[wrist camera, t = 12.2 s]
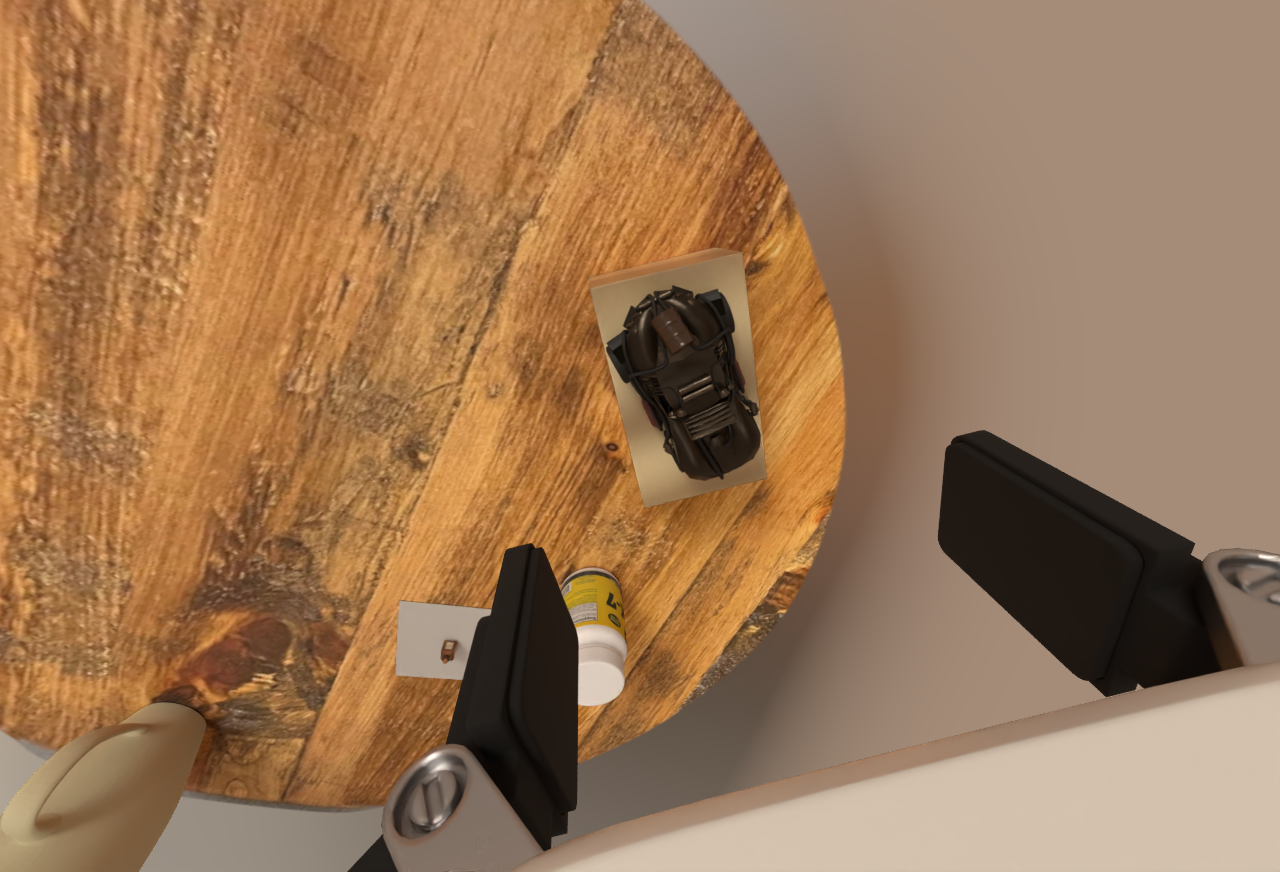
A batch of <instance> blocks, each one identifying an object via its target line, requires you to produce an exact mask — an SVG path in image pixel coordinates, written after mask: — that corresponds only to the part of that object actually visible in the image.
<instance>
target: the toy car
mask: <svg viewBox="0 0 1280 872" xmlns="http://www.w3.org/2000/svg"><path fill="white" fill-rule="evenodd" d="M653 294H654V296H652V295H651V294H648V295H647V296H646V297H645V298H644V299H643V300H642V301H641V302H640V303H639V304H638V305H637V306H636V307H633V306H631V307H630V309H629V312H628V314H627V317H626V319H625V321H624V324H623V327H625V328H626V329H628V330H623V331H622V332H621V333H620V334H618V335H617V336H616V337H614V338H613V339H611V340H610V341H608V342H607V343H606V344H607V345H608V346H607V347H606V351H607V354H608V356H609V358H610V359H611V361H612V363H613V365H614V367H615V369H616V370H617V372H618V374H619V375H620V377H621V379H622V380H623V382H625V383H626V384H627V383H629V382H630V383H631V385H632V386H633V388H634V389H635V391H636V392H637V393H638V394H639V395H640V397H641V398H642V405H643V409H644V410H645V412H646V414H647V416H648V418H649V421H650V423H651V425H652V426H653V427H656V428H658V429H659V430H660V431H663V428H662V426H663V425H662V424H664V427H665V431H664V437H665V440H664V444H663V448H665V450H664V451H665V452H666V453H668V454H670V455H672V457H673V459H674V461H675V463H676V465H677V467H678V468H679V470H680V471H681V472H682V473H683V472H685V473H686V474H687V475H688V476H689V478H691V479H694V480H695V479H697V480H702V481H706V480H707V479H708V480H709V479H713V478H716V477H720V479H721V480H723V479H724V474H726V473H730V472H731V471H733V470H735V469H737V468H739V467H741V466H742V465H744V464H746V463H747V462H749V461H750V460H753V459H754V457H755V455H756V454H757V452H758V451H759V448H761V447H760V443H761V438H760V437H761V433H760V431H759V428H758V426H757V424H756V422H755V419H754V417H753V416H757V415H758V412H759V408H758V407H757V405H756V404H757V403H754V402H752V401H751V400H748V397H747V399H746V398H745V397H746V396H745V397H744V395H741V393H740V392H739V390H741V392H742V393H745V390H744V386H745V384H746V381H745V378H744V376H743V374H742V371H741V369H740V366H739V363H738V362H737V360H736V354H735V347H734V342H733V338H732V333H734V332H735V323H734V318H733V315H732V312H731V309H730V306H729V304H728V302H727V300H726V298H725V296H724V295H723V294H722V293H721V292H719V291H718V289H715V290H711V291H708V292H705V293H702V294H700V293H698V294H696V296H695V298H693V297H694V294H693V292H692V291H689V290H686V289H683V288H680V287H677V286H674V285H672V289H669V290H662V291H654V292H653ZM673 295H674V298H673ZM640 312H641V313H640ZM721 340H722V344H721V345H720V346H719V347H718V344H719V343H720V341H721ZM725 343H726V344H725ZM722 346H723V347H722ZM721 347H722V348H721ZM720 348H721V349H720ZM726 348H727V351H726ZM719 349H720V351H719ZM714 350H715V352H714ZM722 350H723V352H722V354H721V356H720V354H719V353H720V352H721V351H722ZM715 354H716V355H715ZM721 357H722V359H721ZM722 360H723V363H722ZM723 366H724V368H723ZM724 370H725V371H726V373H727V376H726V374H725V371H724ZM642 378H649V380H646V381H643V380H642ZM726 381H727V382H728V383H729V384H728V385H727V384H726ZM646 382H651V383H646ZM642 384H643V385H642ZM647 385H652V386H653V387H648V386H647ZM644 387H645V388H646V389H645V388H644ZM649 388H653V389H654V390H650V389H649ZM646 390H647V391H646ZM735 391H736V392H735ZM652 392H656V394H653V393H652ZM736 394H737V395H736ZM655 395H657V397H658V399H659V400H658V399H657V398H656V396H655ZM738 398H739V399H738ZM659 401H660V402H659ZM740 401H741V402H740ZM742 402H743V403H744V404H745V405H746V406H747V407H749V409H747V410H745V407H744V405H743V403H742ZM741 403H742V404H741ZM658 405H659V406H658ZM659 407H660V408H661V409H660V408H659ZM662 411H663V412H662ZM670 426H671V427H670ZM671 429H672V430H671ZM672 432H673V434H672ZM673 436H674V437H673ZM669 439H671V442H672V444H670V443H669ZM674 440H675V441H674Z"/></svg>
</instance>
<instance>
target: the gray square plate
mask: <svg viewBox="0 0 1280 872" xmlns="http://www.w3.org/2000/svg"><path fill="white" fill-rule="evenodd" d="M491 610H492V609H482V608H471V607H460V606H450V605H439V604H428V603H418V602H407V601H399V615H398V636H397V656H396V675H397V676H413V677H428V678H444V679H459V680H463V676H464V672H465V668H466V664H467V660H468V656H469V652H470V649H471V645H472V641H473V637H474V633H475V629H476V626H477V623H478V621H479V620H480V619H481V618H482V617H485V616H489V615H490V614H491Z"/></svg>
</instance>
